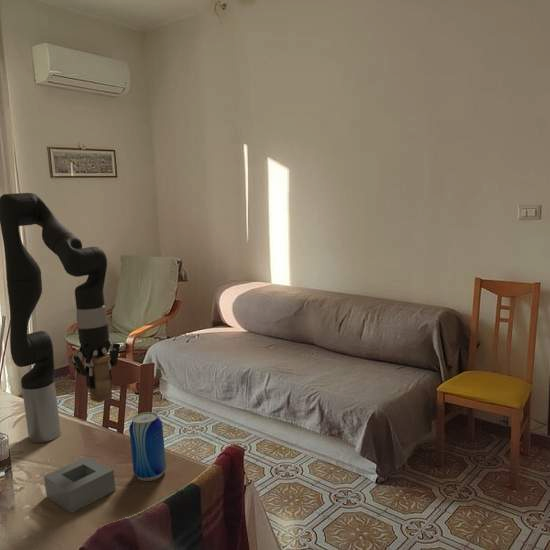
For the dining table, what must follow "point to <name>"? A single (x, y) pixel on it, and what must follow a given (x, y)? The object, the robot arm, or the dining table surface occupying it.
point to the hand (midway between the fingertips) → (99, 385)
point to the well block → (79, 483)
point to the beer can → (147, 446)
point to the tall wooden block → (101, 379)
